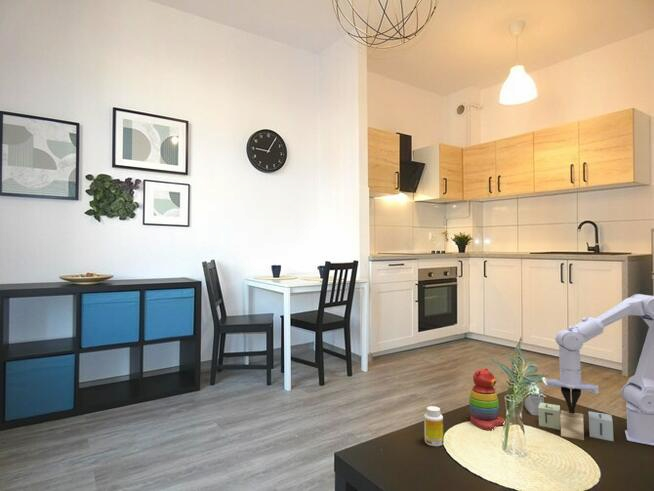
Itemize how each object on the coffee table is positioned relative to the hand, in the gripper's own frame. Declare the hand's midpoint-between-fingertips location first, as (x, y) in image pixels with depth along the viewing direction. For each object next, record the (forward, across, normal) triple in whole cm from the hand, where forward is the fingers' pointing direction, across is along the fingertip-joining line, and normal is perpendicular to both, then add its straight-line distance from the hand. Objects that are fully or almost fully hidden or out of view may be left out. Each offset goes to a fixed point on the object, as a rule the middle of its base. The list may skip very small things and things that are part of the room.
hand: (571, 412), depth 123 cm
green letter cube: (+7, -7, +5) cm, 11 cm away
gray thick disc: (+7, -12, +15) cm, 21 cm away
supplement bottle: (+7, -35, -29) cm, 46 cm away
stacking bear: (+7, -25, -5) cm, 27 cm away
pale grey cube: (+7, +7, +4) cm, 11 cm away
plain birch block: (+7, 0, 0) cm, 7 cm away
